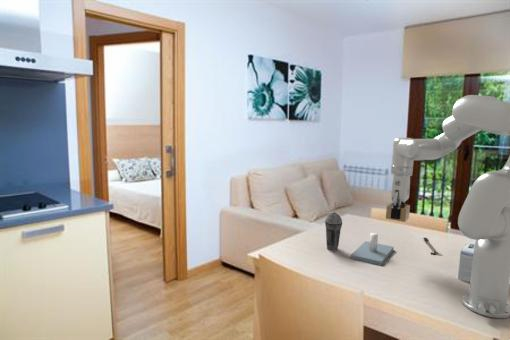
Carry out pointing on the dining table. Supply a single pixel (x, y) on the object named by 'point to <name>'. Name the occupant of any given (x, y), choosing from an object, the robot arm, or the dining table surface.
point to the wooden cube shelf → (403, 214)
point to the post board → (372, 251)
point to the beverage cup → (333, 230)
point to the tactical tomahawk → (431, 247)
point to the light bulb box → (466, 262)
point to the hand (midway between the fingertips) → (397, 216)
